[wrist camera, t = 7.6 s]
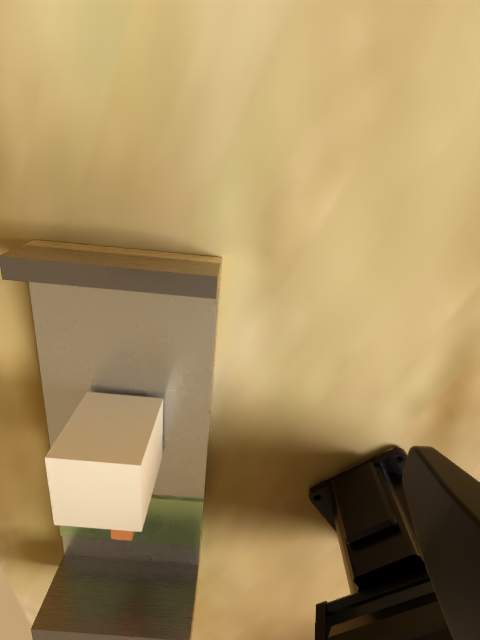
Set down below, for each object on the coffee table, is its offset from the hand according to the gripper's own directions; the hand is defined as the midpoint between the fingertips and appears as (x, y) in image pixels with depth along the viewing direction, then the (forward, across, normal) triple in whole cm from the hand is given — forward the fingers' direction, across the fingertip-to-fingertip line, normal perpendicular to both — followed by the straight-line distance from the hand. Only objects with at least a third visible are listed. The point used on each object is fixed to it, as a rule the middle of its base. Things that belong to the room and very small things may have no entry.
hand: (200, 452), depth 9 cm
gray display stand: (+12, +5, +11) cm, 17 cm away
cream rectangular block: (+11, +5, +11) cm, 16 cm away
